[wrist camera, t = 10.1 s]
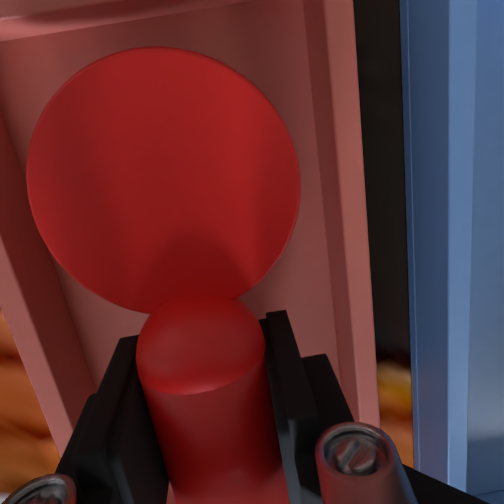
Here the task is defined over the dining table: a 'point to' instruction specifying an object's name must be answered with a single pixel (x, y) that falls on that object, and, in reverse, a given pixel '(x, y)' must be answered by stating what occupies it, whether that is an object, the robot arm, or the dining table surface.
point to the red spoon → (177, 246)
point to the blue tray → (456, 238)
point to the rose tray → (309, 159)
